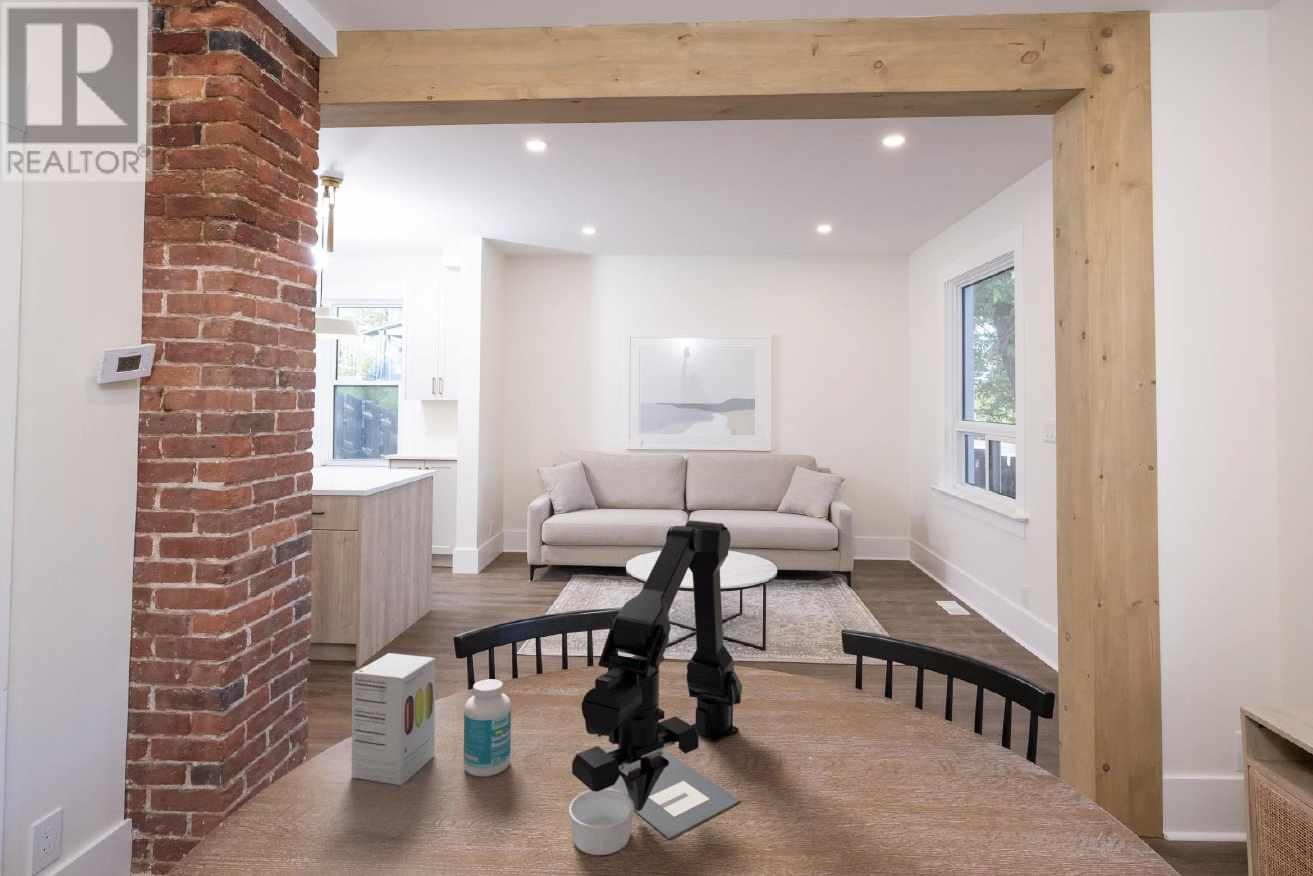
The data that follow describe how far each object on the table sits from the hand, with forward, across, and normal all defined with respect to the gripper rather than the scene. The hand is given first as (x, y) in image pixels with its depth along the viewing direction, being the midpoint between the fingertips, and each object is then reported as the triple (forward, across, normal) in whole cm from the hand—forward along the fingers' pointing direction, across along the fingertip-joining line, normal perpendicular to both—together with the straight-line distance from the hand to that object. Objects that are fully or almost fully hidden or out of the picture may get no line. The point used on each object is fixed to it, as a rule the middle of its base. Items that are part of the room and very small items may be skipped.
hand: (637, 809), depth 90 cm
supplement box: (+2, +23, -35) cm, 42 cm away
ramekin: (+2, +6, 0) cm, 6 cm away
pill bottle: (+2, +11, -26) cm, 28 cm away
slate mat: (+2, -8, -6) cm, 10 cm away
